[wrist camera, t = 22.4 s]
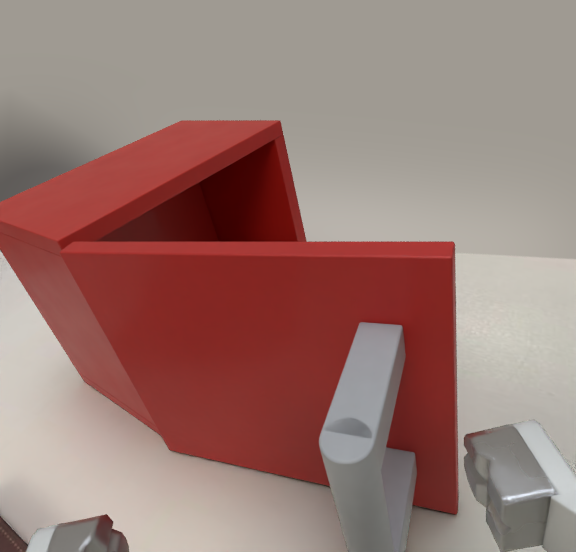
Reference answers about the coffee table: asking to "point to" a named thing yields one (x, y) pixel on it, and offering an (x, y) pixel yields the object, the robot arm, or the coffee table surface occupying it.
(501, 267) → the coffee table surface
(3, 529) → the notebook
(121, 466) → the coffee table surface
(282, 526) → the coffee table surface
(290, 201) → the cabinet
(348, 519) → the red cabinet door
